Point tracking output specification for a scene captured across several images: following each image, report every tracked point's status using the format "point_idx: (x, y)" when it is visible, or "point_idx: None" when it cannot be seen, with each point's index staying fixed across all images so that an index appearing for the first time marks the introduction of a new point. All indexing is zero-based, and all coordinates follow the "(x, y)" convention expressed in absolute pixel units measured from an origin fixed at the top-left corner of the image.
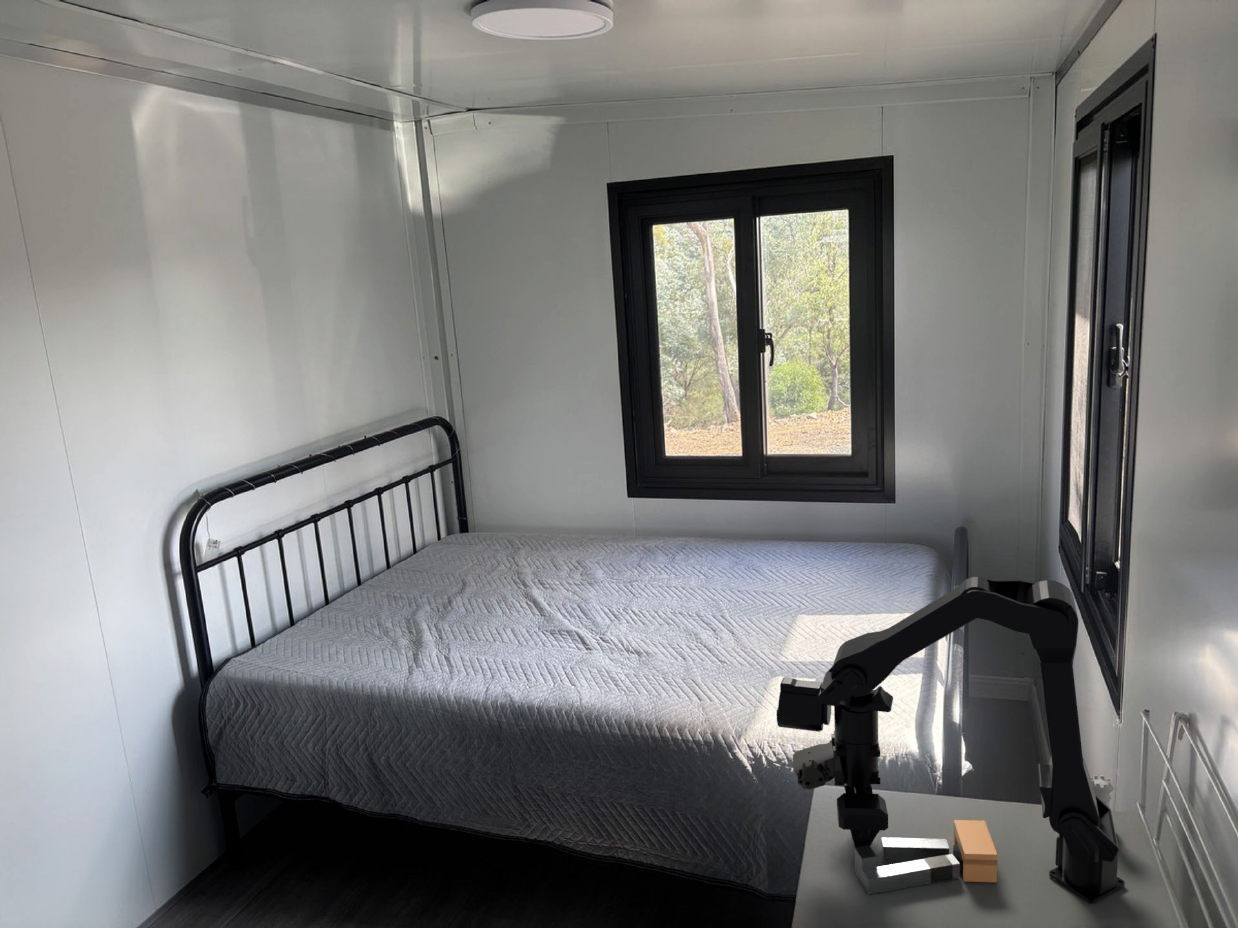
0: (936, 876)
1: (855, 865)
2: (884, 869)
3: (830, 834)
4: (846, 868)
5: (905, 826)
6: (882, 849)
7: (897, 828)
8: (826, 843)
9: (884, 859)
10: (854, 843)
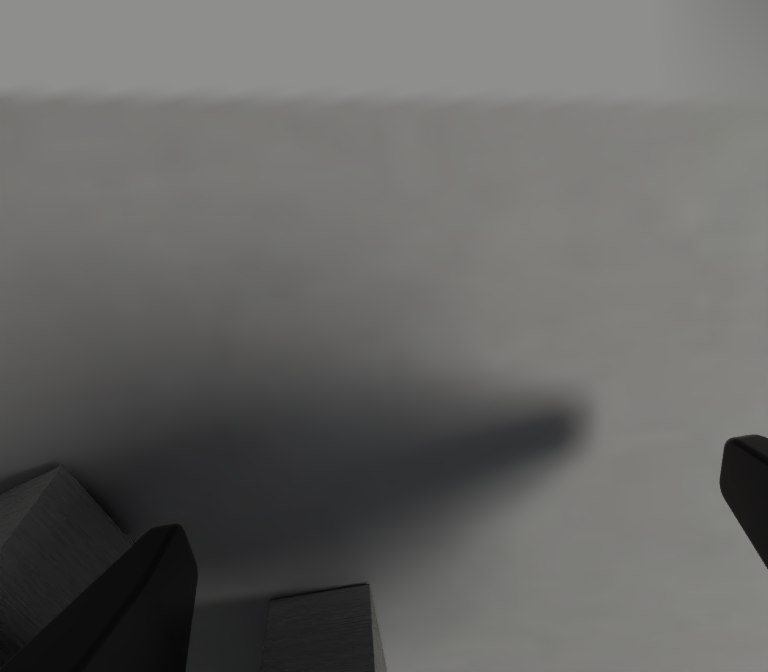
0: None
1: (11, 520)
2: None
3: (552, 229)
4: (112, 394)
5: (656, 666)
6: (312, 651)
7: (636, 634)
8: (414, 205)
9: (269, 623)
10: (16, 656)
